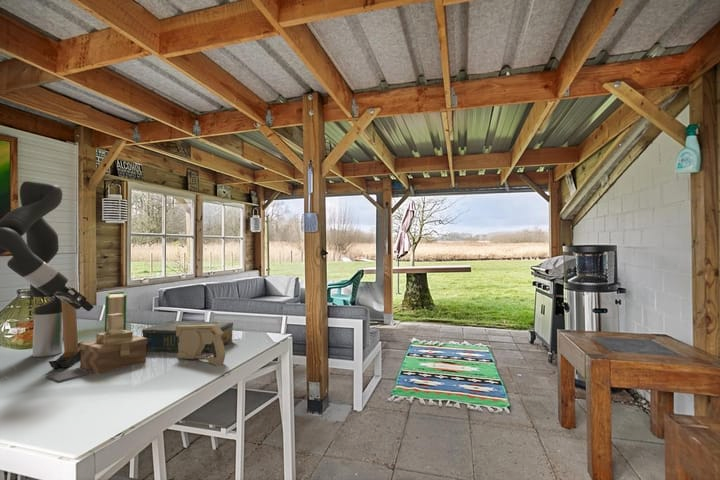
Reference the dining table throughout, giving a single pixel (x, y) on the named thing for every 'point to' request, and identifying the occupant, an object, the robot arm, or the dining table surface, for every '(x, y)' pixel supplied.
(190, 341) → the gun
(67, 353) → the hammer
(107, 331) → the wooden block
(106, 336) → the stacked wooden tiers
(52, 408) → the dining table surface
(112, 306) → the hardback book
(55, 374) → the rubber mat
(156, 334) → the metal box
